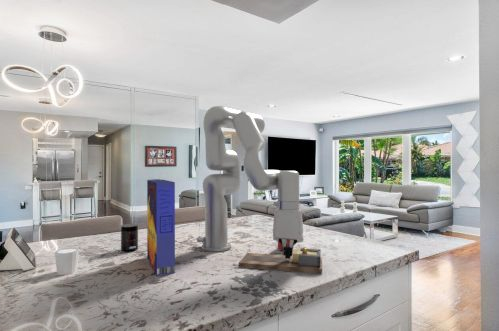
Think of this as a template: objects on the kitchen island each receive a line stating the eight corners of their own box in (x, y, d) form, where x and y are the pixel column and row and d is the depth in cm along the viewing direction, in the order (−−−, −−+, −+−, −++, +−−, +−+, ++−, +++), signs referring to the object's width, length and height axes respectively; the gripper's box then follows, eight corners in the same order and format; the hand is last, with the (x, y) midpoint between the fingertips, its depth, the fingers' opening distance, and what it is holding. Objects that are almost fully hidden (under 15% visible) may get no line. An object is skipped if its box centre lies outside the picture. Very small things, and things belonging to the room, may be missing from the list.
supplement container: (132, 247, 128) (132, 223, 128) (141, 249, 124) (141, 225, 124) (117, 250, 123) (117, 225, 123) (125, 253, 119) (125, 227, 119)
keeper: (298, 265, 99) (298, 255, 99) (300, 257, 107) (300, 248, 107) (320, 267, 97) (320, 256, 97) (320, 259, 106) (320, 249, 106)
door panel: (238, 266, 102) (238, 262, 102) (247, 256, 114) (247, 252, 114) (321, 273, 96) (321, 268, 96) (322, 262, 107) (322, 257, 107)
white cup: (61, 277, 93) (61, 254, 93) (50, 273, 97) (50, 251, 97) (83, 270, 99) (83, 249, 99) (72, 267, 103) (72, 246, 103)
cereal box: (147, 257, 114) (147, 179, 114) (163, 255, 116) (163, 179, 117) (156, 275, 94) (155, 181, 94) (174, 272, 97) (174, 181, 97)
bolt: (292, 262, 102) (292, 249, 102) (294, 258, 106) (293, 245, 106) (316, 264, 100) (316, 250, 100) (316, 260, 104) (316, 247, 104)
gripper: (265, 206, 102) (265, 259, 102) (309, 208, 99) (309, 262, 99) (269, 203, 110) (269, 252, 110) (310, 205, 106) (310, 256, 106)
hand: (288, 257), depth 104 cm, fingers closed
